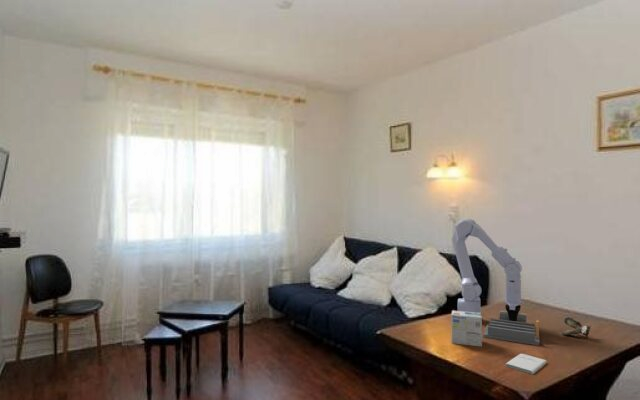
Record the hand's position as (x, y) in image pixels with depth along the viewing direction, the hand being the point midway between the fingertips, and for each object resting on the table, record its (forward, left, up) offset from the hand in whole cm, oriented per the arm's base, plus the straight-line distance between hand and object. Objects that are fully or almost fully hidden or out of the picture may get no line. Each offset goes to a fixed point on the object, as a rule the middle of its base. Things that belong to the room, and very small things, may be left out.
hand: (512, 323), depth 169 cm
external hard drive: (+5, -40, -2) cm, 41 cm away
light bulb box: (-15, -28, -2) cm, 32 cm away
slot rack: (0, -12, -2) cm, 12 cm away
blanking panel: (0, 0, -2) cm, 2 cm away
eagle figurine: (+22, 0, -2) cm, 22 cm away
